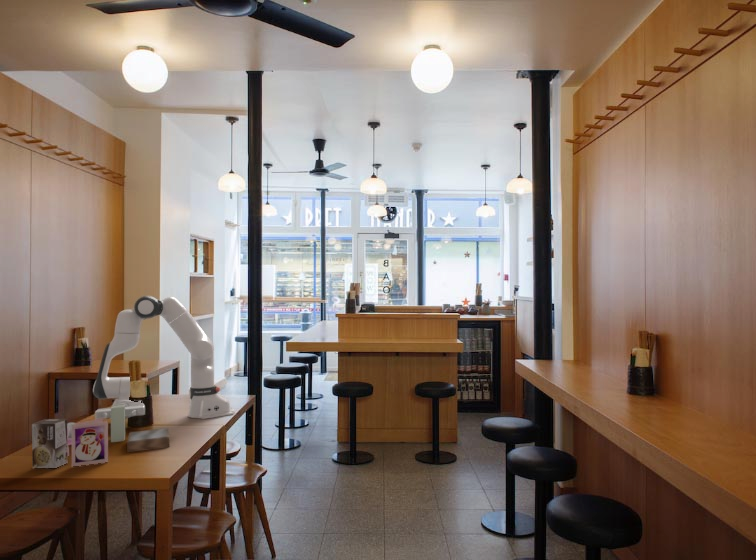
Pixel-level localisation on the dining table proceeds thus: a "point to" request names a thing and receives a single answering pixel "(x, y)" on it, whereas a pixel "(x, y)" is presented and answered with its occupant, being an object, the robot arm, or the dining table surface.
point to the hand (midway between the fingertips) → (119, 415)
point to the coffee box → (49, 443)
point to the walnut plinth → (148, 440)
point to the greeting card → (90, 442)
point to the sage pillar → (118, 423)
